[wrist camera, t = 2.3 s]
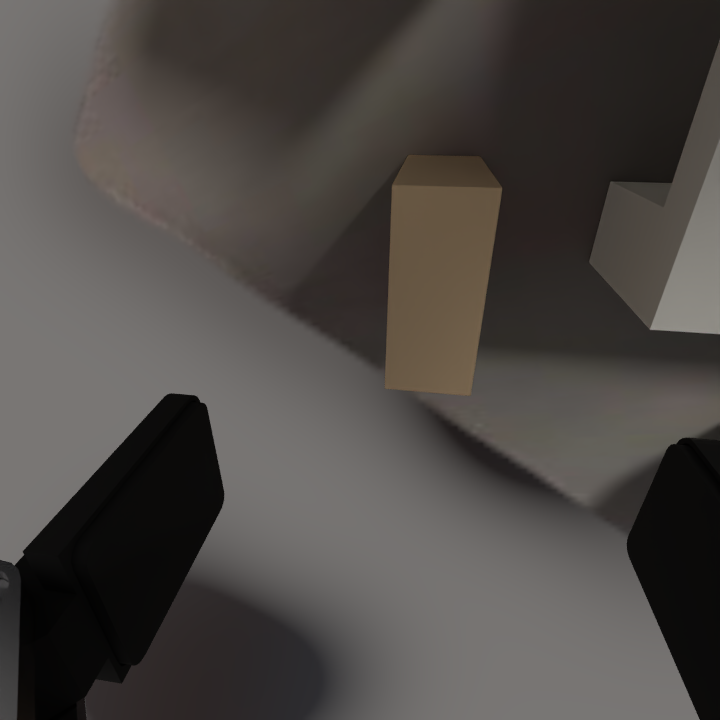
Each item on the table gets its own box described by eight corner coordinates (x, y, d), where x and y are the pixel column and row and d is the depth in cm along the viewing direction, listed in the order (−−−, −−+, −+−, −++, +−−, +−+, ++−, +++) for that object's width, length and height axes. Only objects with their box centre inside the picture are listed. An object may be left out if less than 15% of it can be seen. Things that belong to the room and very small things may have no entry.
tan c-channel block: (408, 154, 22) (391, 185, 15) (480, 156, 22) (502, 188, 14) (400, 303, 26) (384, 388, 19) (461, 307, 26) (470, 396, 18)
